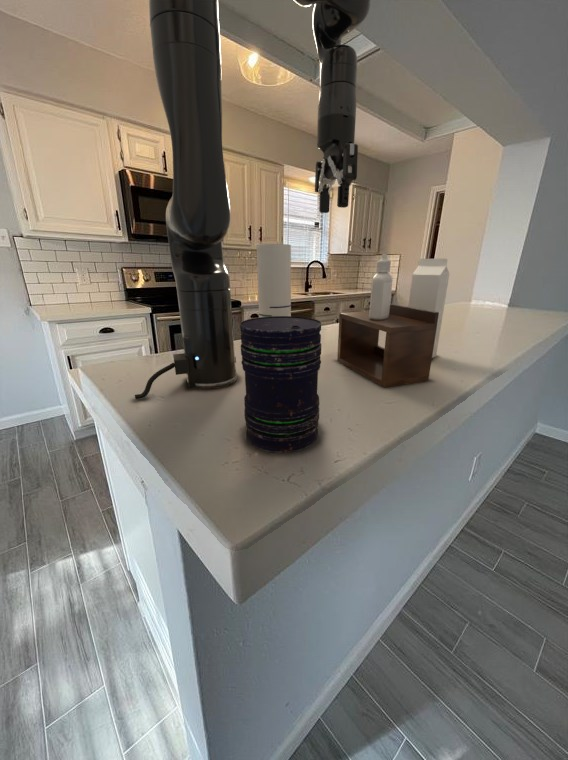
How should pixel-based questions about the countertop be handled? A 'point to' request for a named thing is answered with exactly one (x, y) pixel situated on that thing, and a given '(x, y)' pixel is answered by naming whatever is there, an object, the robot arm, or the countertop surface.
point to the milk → (430, 289)
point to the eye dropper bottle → (381, 290)
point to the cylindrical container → (274, 279)
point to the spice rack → (389, 345)
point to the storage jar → (281, 381)
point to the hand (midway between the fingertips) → (333, 210)
